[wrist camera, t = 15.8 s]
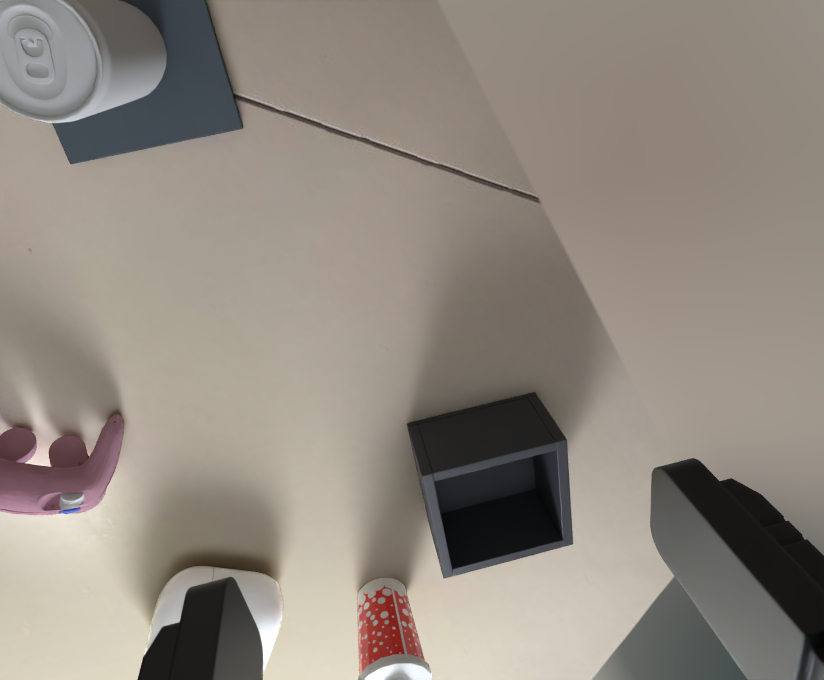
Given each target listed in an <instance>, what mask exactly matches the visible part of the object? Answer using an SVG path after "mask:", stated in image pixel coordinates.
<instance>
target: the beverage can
mask: <svg viewBox="0 0 824 680" xmlns="http://www.w3.org/2000/svg"><path fill="white" fill-rule="evenodd" d="M166 59H167V52H166V48H165V43H164V40H163V38H162V36H161V34H160V32H159V30H158V28H157V27H156V25H155V24H154V23H153V22H152V21H151V19H150V18H149V17H148V16H147V15H146V14H144V13H143V12H142V11H141V10H139V9H138V8H137V7H134V6H132V5H130V4H128V3H126V2H124V1H119V0H0V104H1V105H3V106H4V107H6V108H7V109H9V110H10V111H12V112H14V113H16V114H19V115H21V116H24V117H26V118H29V119H33V120H37V121H44V122H50V123H63V122H73V121H76V120H79V119H82V118H85V117H88V116H91V115H94V114H97V113H100V112H102V111H105V110H108V109H111V108H114V107H117V106H120V105H123V104H126V103H129V102H131V101H134V100H137V99H139V98H142V97H144V96H146V95H148V94H149V93H150V92H152V91H153V90H154V89H155V88H156V87H157V85H158V84H159V82H160V80H161V79H162V77H163V74H164V71H165V68H166Z"/></svg>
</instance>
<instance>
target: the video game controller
mask: <svg viewBox="0 0 824 680" xmlns="http://www.w3.org/2000/svg"><path fill="white" fill-rule="evenodd" d="M123 433H124V420H123V418H122V416H121V415H119V414H115V415H113V416H112V417H111V418H110V419H109V420H108V421H107V423H106V424H105V426H104V427H103V429H102V431H101V433H100V436H99V438H98V441H97V443H96V445H95V448H94V450H93V452H92V453H91V455H90V457H89V456H88V454H87V450H86V447H85V444H84V442H83V440H82V439H80V438H78V437H75V436H65V437H61V438H59V439H57V440H55V441H54V442H53V443H52V445H51V446H50V449H49V459H50V464H51V466H52V467H48V466H39V465H32V464H25V462H27V461H28V460H29V459H30V458H32V456H33V455H34V453H35V451H36V448H37V446H36V444H37V443H36V437H35V435H34V433H33V432H31V431H30V430H28V429H25V428H12V429H10V430H8V431H6V432H5V433H3V434H2V435H1V436H0V511H2V512H7V513H13V514H22V515H53V514H60V513H64V514H67V513H81V512H85V511H88V510H90V509H92V508H94V507H95V506H96V505H98V504H99V502H100V501H101V500H102V499H103V497H104V495H105V492H106V488H107V486H108V484H109V482H110V480H111V478H112V476H113V474H114V471H115V468H116V465H117V462H118V458H119V454H120V449H121V444H122V439H123Z"/></svg>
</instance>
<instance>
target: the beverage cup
mask: <svg viewBox="0 0 824 680" xmlns="http://www.w3.org/2000/svg"><path fill="white" fill-rule="evenodd" d="M357 612H358V643H359V678H358V680H433V678H432V675H431V671H430V667H429V664H428V663H426V662H425V660H424V656H423V653H422V649H421V645H420V641H419V638H418V634H417V630H416V627H415V623H414V619H413V615H412V612H411V608H410V604H409V601H408V597H407V593H406V590H405V586H404V585H403V584H402V583H401V582H400V581H399V580H396V579H393V578H379V579H375V580H372V581H370V582H368V583H367V584H365V585H364V586H363V587H362V588H361V589H360V591H359V593H358V597H357Z"/></svg>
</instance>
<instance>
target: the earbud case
mask: <svg viewBox="0 0 824 680" xmlns="http://www.w3.org/2000/svg"><path fill="white" fill-rule="evenodd" d="M227 577H233V578H234V579H235V580H236V582H237V584H238V586H239V588H240V591H241V593H242V595H243V597H244V599H245V601H246V603H247V606H248V608H249V610H250V612H251V614H252V616H253V618H254V621H255V623H256V625H257V627H258V630H259V633H260V637H261V641H262V648H263V671H264V669H265V667H266V665H267V662H268V660H269V657H270V655H271V652H272V649H273V646H274V644H275V641H276V638H277V635H278V632H279V629H280V626H281V623H282V618H283V611H284V603H283V595H282V592H281V589H280V587H279V585H278V584H277V583H276V581H275V580H274V579H272V578H271V577H269V576H268V575H265V574H262V573H258V572H252V571H244V570H236V569H227V568H218V567H209V566H196V567H191V568H187V569H184V570H182V571H180V572H179V573H177V574H176V575H175V576H173V577H172V578H171V579H170V580H169V581H168V583H167V584H166V585H165V587H164V588H163V590H162V592H161V594H160V596H159V598H158V601H157V604H156V607H155V611H154V615H153V619H152V623H151V627H150V631H149V635H148V639H147V643H146V648H145V653H144V655H145V654H146V652H147V651H148V649H149V647H150V646H151V644H152V642H153V641H154V639H155V638H156V636H157V634H158V633H159V631H160V630H161V628H162V627H163V626H167V625H170V624H174V623H178V622H180V618H181V613H182V608H183V604H184V599H185V595H186V592H187V590H188V589H189V588H190V587H193V586H196V585H200V584H204V583H208V582H212V581H216V580H220V579H223V578H227Z"/></svg>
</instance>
